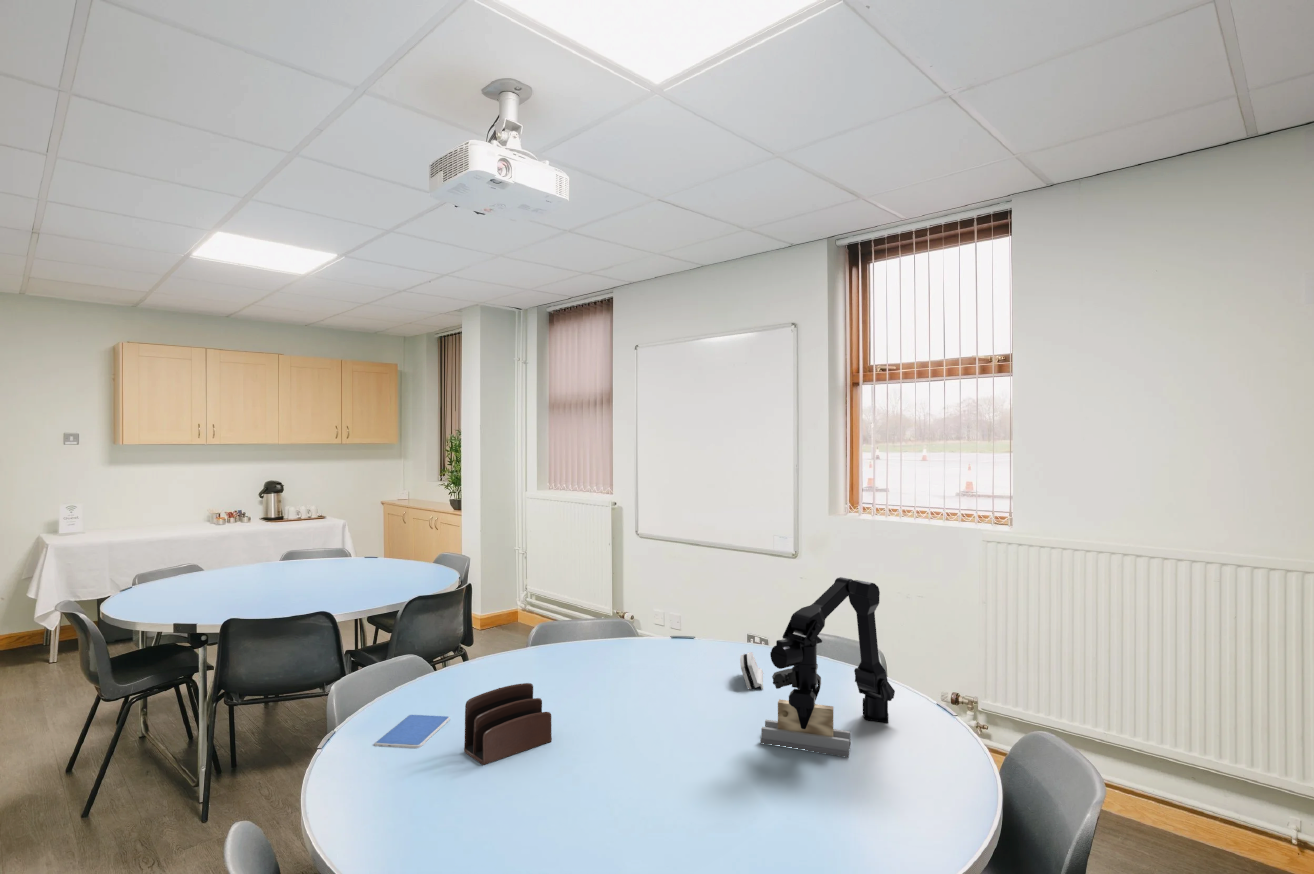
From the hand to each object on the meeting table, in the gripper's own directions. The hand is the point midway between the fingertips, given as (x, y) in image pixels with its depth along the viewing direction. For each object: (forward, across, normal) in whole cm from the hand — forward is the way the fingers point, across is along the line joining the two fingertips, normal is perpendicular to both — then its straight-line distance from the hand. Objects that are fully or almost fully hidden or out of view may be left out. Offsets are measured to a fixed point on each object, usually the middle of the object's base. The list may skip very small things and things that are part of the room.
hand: (805, 721), depth 170 cm
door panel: (+4, 0, 0) cm, 5 cm away
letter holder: (+6, +29, -71) cm, 77 cm away
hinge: (+6, -43, -23) cm, 49 cm away
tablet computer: (+6, +30, -100) cm, 105 cm away
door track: (+6, 0, 0) cm, 6 cm away
